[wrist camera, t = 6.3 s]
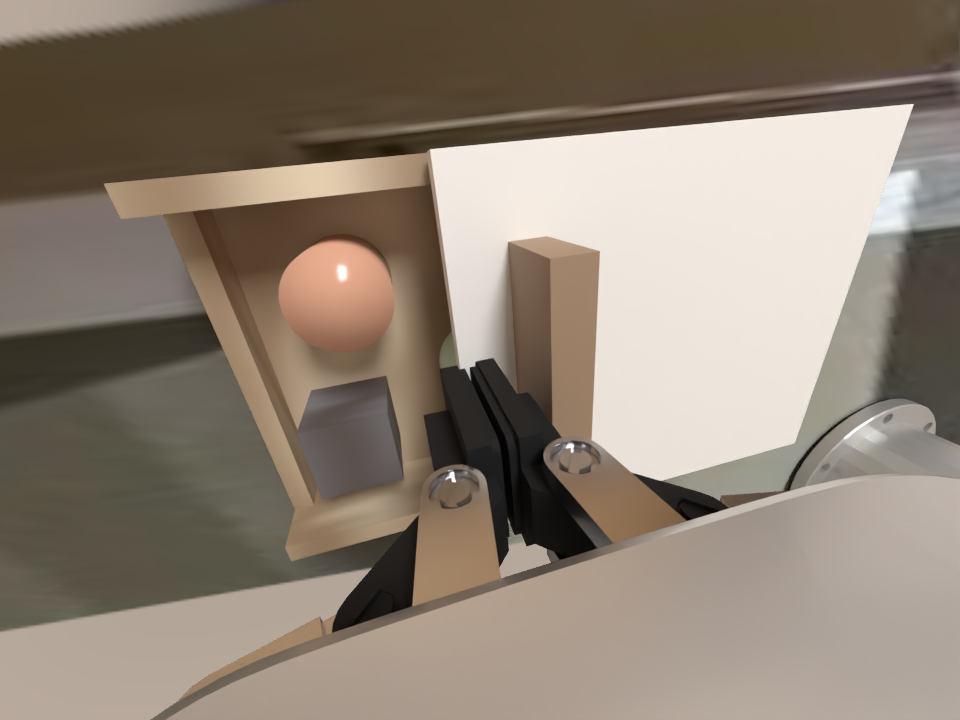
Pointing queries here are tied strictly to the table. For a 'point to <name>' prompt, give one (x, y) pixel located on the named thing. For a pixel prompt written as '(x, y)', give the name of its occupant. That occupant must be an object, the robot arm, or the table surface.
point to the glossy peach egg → (338, 294)
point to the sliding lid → (663, 274)
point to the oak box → (278, 349)
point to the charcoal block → (351, 437)
